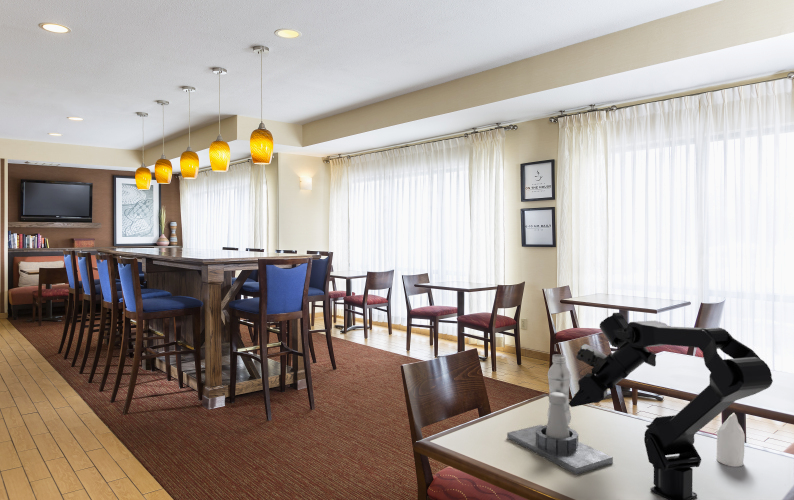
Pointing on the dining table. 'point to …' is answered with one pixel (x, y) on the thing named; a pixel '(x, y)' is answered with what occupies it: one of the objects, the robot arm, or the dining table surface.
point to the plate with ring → (561, 449)
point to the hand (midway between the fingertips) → (575, 400)
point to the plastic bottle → (560, 381)
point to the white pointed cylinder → (730, 442)
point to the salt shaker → (557, 417)
